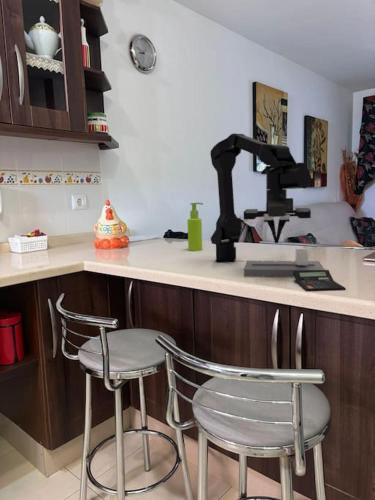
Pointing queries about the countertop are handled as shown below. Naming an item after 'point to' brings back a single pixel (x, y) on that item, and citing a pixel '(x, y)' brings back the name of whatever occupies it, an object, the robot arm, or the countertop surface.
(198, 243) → the soap dispenser
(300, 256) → the fader
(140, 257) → the countertop surface
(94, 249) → the countertop surface
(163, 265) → the countertop surface
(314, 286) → the calculator
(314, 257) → the countertop surface
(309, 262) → the gray slotted panel
